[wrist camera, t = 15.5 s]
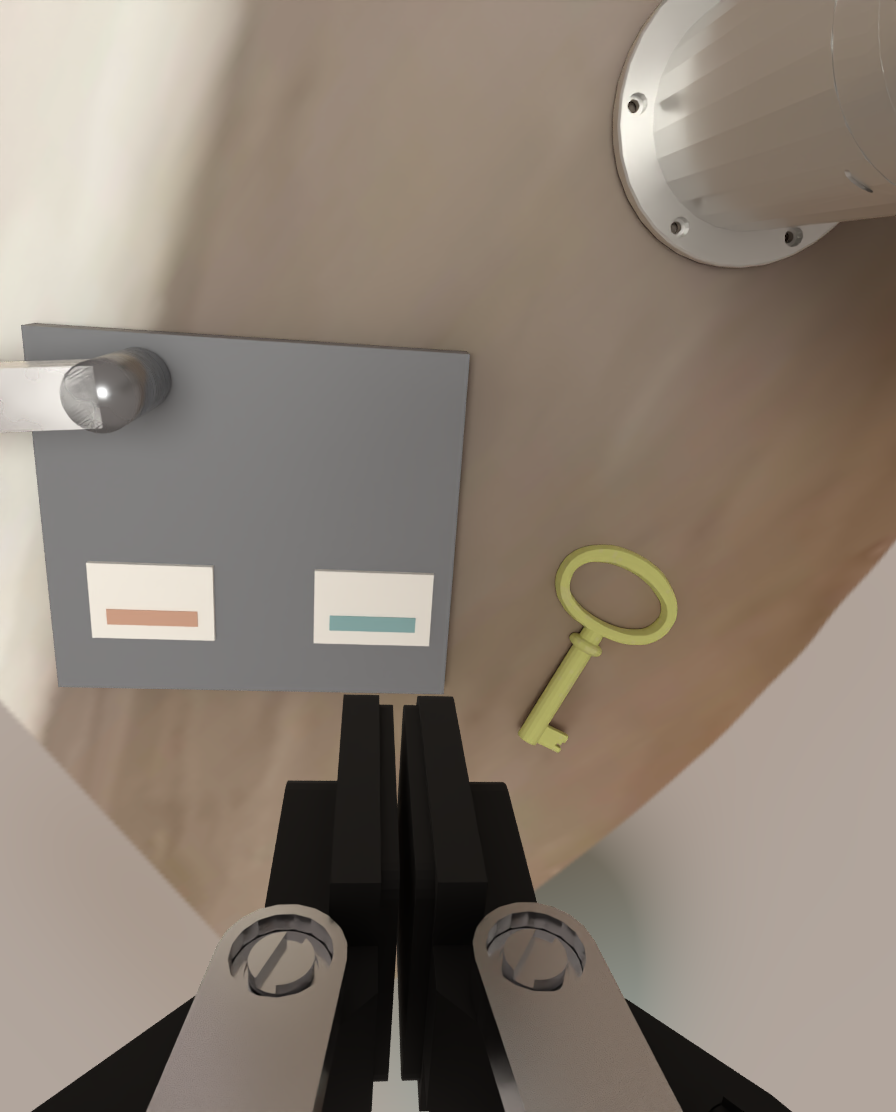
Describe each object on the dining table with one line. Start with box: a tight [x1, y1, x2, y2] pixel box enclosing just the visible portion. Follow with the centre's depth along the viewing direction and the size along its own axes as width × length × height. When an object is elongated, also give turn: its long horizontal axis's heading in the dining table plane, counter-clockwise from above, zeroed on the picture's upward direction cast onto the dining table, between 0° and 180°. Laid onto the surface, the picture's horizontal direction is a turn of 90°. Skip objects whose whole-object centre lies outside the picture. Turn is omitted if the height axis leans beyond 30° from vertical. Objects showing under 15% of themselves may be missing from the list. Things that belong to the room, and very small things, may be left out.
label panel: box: [21, 323, 470, 694], centre depth 39 cm, size 20×18×2 cm
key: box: [518, 545, 677, 753], centre depth 44 cm, size 7×12×2 cm, turn 168°
